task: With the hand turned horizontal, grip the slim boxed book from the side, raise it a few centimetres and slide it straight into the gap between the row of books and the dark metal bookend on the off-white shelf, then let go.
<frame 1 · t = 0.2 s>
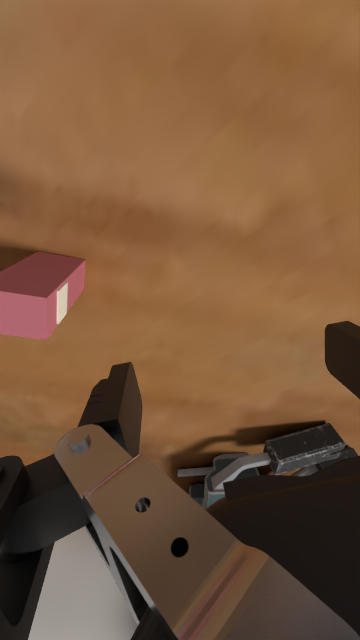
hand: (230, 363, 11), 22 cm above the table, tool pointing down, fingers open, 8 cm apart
toy: (260, 480, 51), on the table
book: (61, 270, 31), on the table
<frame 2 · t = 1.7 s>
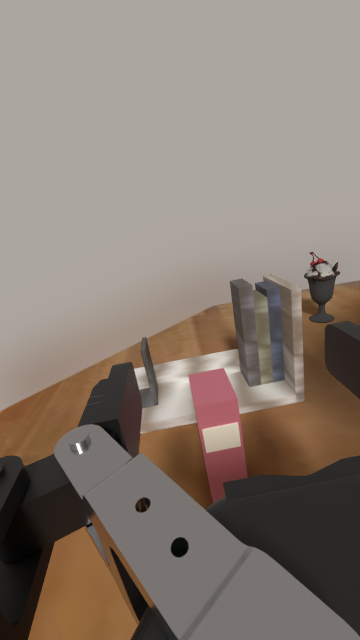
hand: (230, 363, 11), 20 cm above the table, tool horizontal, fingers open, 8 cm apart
sundae: (321, 319, 62), on the table
book: (226, 484, 29), on the table
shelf: (206, 401, 42), on the table
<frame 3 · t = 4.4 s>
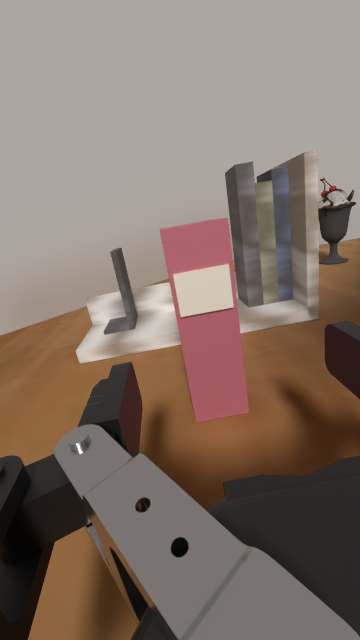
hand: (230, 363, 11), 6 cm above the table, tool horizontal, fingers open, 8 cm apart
sundae: (333, 262, 54), on the table
book: (215, 395, 20), on the table
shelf: (195, 328, 34), on the table
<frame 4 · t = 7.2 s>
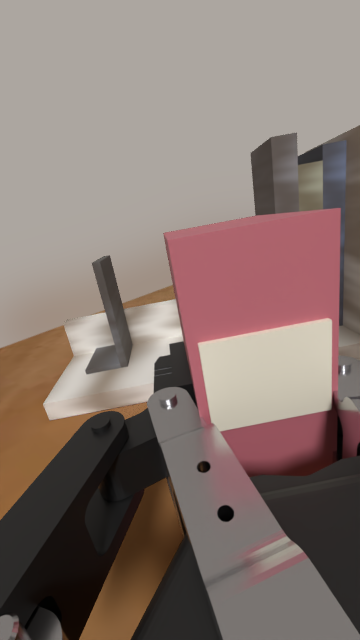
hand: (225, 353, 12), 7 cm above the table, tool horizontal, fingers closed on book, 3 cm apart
book: (259, 519, 12), on the table, touching gripper
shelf: (209, 363, 25), on the table
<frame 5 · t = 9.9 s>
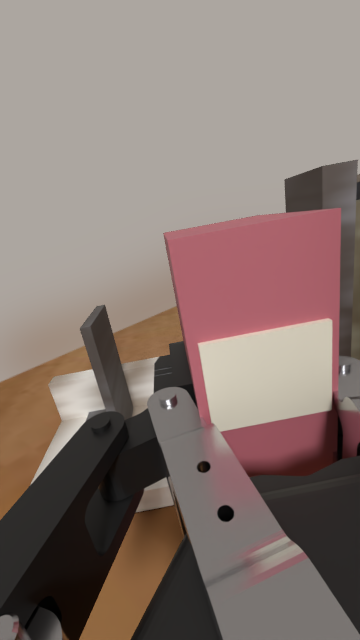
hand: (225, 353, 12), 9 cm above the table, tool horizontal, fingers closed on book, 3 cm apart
book: (259, 519, 12), point 3 cm above the table, touching gripper
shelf: (229, 440, 20), on the table
when the fingers open (9 cm above the table, at t = 12.8 s): book drops 1 cm, resting on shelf.
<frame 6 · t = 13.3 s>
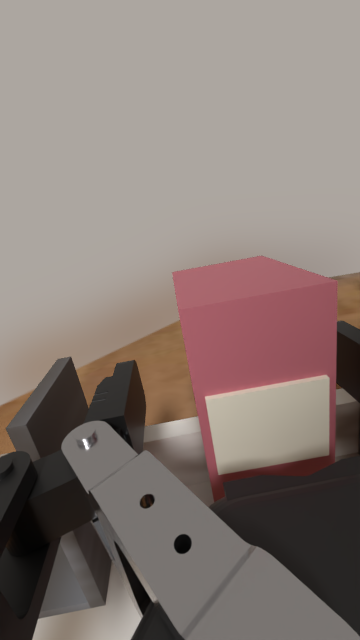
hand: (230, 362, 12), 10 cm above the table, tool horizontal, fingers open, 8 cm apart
book: (261, 541, 12), point 1 cm above the table, touching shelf
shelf: (272, 576, 12), on the table
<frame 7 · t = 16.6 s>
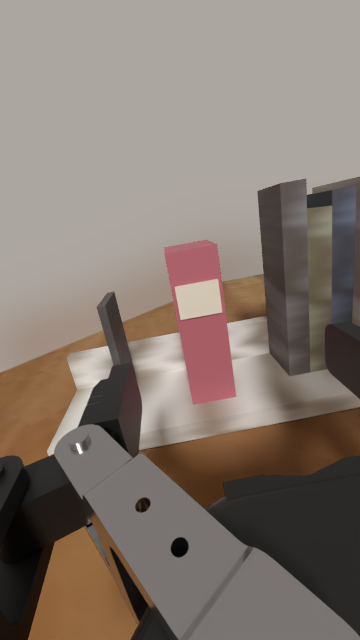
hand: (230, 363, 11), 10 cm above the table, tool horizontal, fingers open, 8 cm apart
book: (209, 384, 25), point 1 cm above the table, touching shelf
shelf: (215, 401, 25), on the table
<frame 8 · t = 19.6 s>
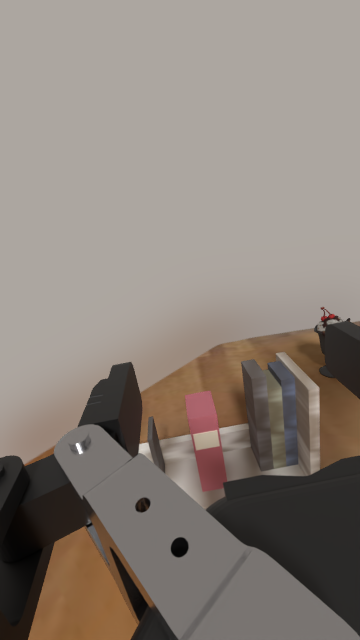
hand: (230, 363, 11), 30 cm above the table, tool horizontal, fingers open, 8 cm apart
sundae: (332, 372, 60), on the table
book: (212, 473, 40), point 1 cm above the table, touching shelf
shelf: (215, 484, 40), on the table
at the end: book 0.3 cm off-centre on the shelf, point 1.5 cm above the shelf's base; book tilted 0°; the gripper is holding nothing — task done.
